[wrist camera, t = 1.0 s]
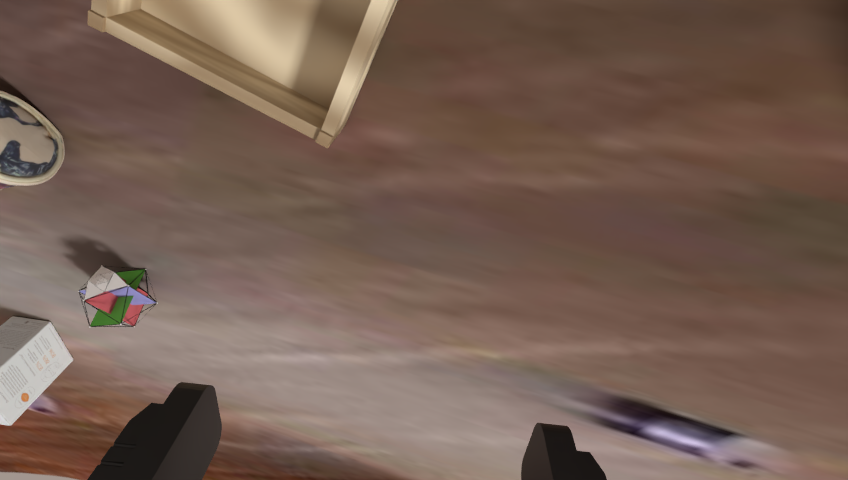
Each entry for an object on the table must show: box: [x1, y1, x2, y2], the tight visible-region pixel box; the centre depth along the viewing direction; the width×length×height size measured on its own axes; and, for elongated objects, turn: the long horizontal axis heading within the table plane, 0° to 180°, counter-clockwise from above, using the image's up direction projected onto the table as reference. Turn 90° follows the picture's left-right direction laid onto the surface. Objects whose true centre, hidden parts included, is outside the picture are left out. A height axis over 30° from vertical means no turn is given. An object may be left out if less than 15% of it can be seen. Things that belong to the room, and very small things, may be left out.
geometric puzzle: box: [78, 265, 158, 327], centre depth 49 cm, size 7×7×8 cm
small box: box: [0, 316, 73, 426], centre depth 57 cm, size 8×6×10 cm
